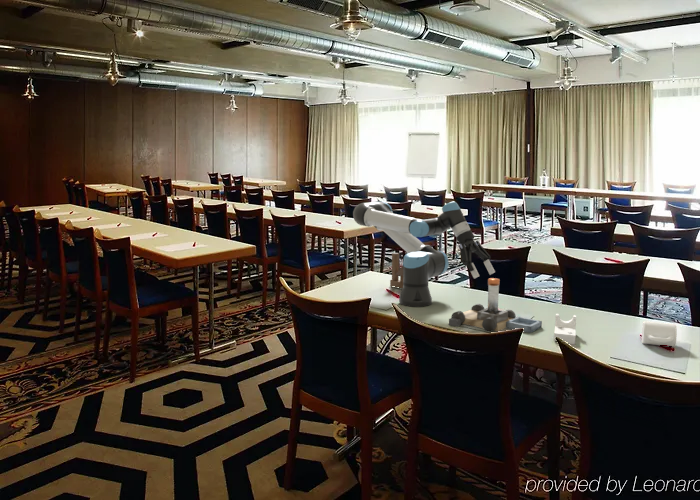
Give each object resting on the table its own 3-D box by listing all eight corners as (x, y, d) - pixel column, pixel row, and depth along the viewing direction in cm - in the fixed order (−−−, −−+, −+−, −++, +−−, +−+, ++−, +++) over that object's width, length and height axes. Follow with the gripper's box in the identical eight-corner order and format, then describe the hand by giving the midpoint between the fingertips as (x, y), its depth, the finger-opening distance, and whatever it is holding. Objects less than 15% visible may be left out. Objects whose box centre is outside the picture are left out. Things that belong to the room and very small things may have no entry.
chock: (448, 324, 219) (448, 318, 219) (452, 323, 221) (452, 317, 220) (457, 326, 216) (457, 320, 216) (460, 325, 218) (460, 319, 218)
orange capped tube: (484, 318, 218) (486, 279, 216) (490, 316, 221) (491, 277, 219) (494, 321, 215) (496, 280, 213) (500, 318, 218) (501, 279, 216)
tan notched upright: (404, 290, 280) (405, 255, 277) (389, 286, 288) (390, 253, 285) (409, 289, 283) (410, 254, 280) (394, 285, 291) (395, 252, 288)
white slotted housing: (641, 339, 199) (642, 318, 198) (672, 343, 195) (674, 321, 194) (643, 349, 189) (645, 327, 187) (677, 353, 185) (679, 330, 183)
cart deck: (450, 322, 222) (450, 309, 221) (473, 314, 234) (473, 301, 234) (494, 332, 208) (495, 319, 207) (516, 323, 221) (517, 309, 220)
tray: (506, 327, 214) (506, 321, 214) (517, 322, 222) (518, 316, 221) (530, 333, 208) (530, 326, 207) (541, 327, 215) (541, 321, 214)
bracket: (554, 332, 209) (556, 313, 208) (574, 334, 206) (576, 315, 205) (553, 342, 197) (555, 322, 196) (575, 345, 195) (576, 324, 193)
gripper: (454, 231, 236) (476, 275, 230) (483, 227, 254) (505, 268, 248) (441, 239, 241) (463, 282, 235) (471, 235, 259) (492, 275, 253)
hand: (484, 275), depth 242 cm, fingers open, 13 cm apart
